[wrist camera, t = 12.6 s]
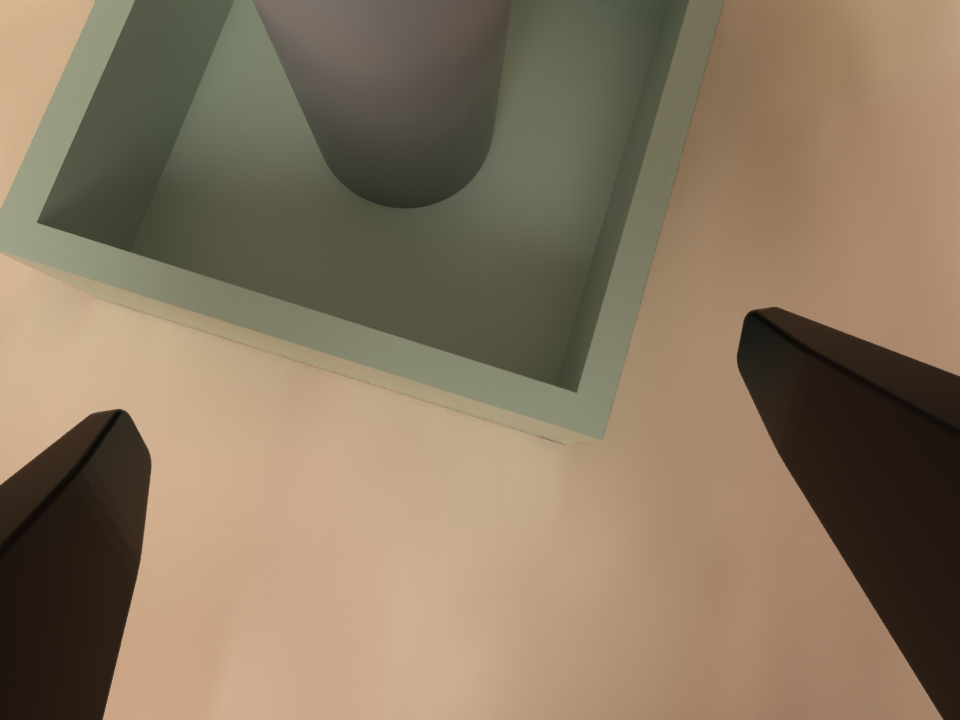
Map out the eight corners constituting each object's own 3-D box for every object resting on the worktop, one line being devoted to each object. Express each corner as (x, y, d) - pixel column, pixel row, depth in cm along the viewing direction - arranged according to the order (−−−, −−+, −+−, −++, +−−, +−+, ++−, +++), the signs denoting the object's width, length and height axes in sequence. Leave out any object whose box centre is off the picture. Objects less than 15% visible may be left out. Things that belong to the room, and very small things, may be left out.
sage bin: (683, 24, 20) (750, -96, 16) (563, 444, 18) (602, 440, 14) (266, -109, 20) (217, -267, 16) (96, 297, 18) (-16, 245, 14)
